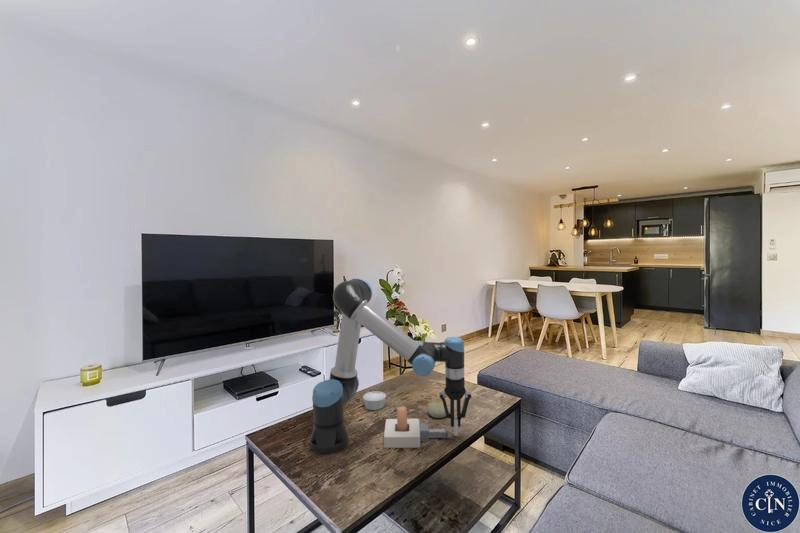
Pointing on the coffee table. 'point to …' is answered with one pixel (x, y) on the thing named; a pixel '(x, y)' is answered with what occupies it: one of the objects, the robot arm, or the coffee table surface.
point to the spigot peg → (402, 418)
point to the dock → (402, 434)
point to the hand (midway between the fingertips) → (455, 433)
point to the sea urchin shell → (436, 410)
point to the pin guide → (424, 432)
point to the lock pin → (438, 433)
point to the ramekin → (374, 400)
